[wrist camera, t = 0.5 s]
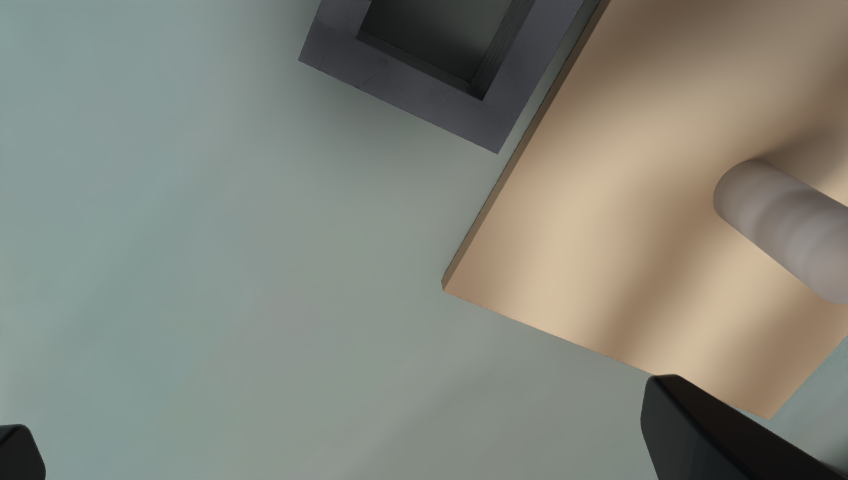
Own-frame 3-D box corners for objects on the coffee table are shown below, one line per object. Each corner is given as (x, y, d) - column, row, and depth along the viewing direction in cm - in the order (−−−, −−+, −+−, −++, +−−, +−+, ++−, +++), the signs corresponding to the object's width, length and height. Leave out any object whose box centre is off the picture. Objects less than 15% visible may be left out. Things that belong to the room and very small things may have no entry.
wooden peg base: (1052, 79, 21) (1298, 128, 16) (758, 407, 27) (859, 530, 21) (696, -167, 17) (852, -222, 12) (441, 280, 23) (461, 389, 17)
